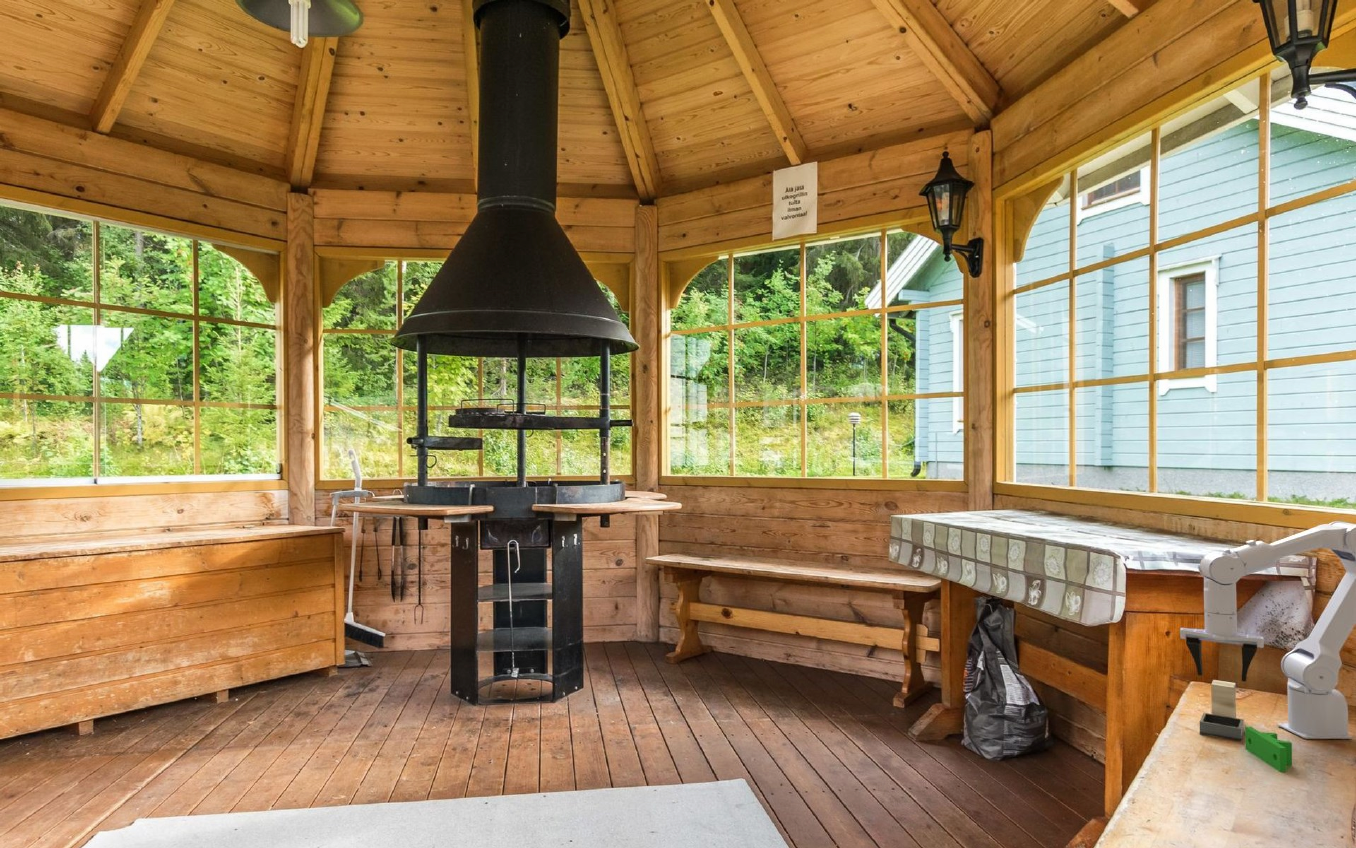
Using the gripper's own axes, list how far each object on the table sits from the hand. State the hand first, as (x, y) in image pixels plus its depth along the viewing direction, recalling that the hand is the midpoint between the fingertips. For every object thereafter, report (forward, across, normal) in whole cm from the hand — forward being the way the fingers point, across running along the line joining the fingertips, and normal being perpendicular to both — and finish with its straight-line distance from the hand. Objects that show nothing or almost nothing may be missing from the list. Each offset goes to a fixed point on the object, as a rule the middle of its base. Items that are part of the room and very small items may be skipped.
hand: (1221, 677), depth 173 cm
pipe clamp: (+11, +9, -16) cm, 21 cm away
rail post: (+10, 0, +4) cm, 11 cm away
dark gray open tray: (+10, 0, -4) cm, 11 cm away
